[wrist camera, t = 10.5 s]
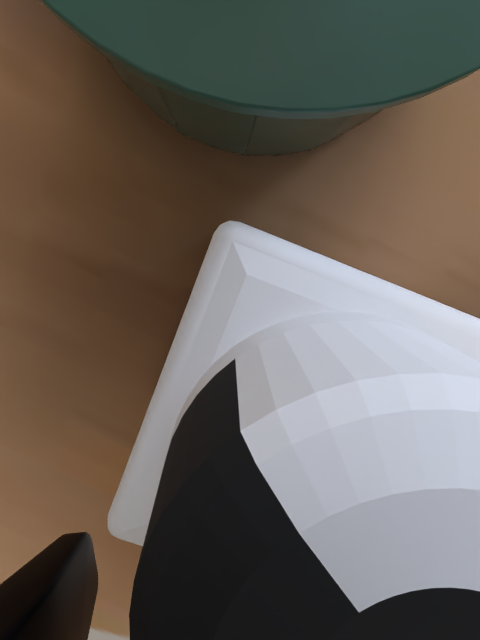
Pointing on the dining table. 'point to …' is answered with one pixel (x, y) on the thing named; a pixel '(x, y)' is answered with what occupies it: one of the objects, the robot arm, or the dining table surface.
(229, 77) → the pot lid
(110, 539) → the dining table surface
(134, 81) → the pot
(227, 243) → the medicine bottle
